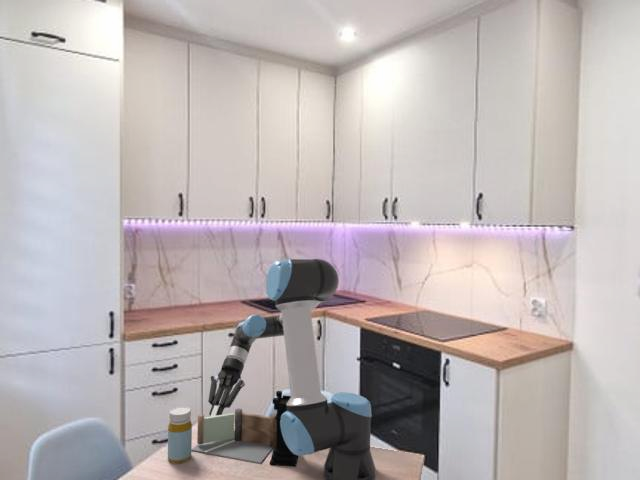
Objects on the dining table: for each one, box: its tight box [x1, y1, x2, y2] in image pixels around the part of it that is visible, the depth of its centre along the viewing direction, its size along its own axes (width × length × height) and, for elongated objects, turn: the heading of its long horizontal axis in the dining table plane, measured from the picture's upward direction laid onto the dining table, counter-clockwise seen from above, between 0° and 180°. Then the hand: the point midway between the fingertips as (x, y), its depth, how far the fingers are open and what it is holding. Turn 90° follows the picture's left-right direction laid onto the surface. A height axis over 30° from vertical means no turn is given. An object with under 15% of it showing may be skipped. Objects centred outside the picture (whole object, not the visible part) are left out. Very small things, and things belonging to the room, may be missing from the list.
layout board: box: [191, 430, 274, 465], centre depth 147 cm, size 24×16×1 cm, turn 74°
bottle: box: [167, 406, 193, 465], centre depth 137 cm, size 7×7×15 cm
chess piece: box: [269, 390, 299, 468], centre depth 138 cm, size 8×8×20 cm
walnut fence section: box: [234, 408, 277, 447], centre depth 148 cm, size 15×2×10 cm, turn 74°
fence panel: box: [196, 412, 235, 444], centre depth 147 cm, size 12×2×9 cm, turn 113°
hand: (211, 426), depth 148 cm, fingers closed
